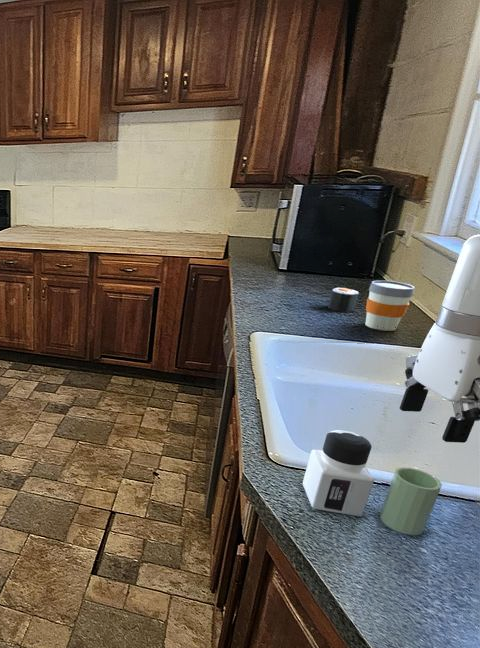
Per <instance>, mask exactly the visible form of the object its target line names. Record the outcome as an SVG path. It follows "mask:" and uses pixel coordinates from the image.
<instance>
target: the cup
mask: <svg viewBox="0 0 480 648" xmlns="http://www.w3.org/2000/svg"><path fill="white" fill-rule="evenodd" d="M442 486H443V485H442V482H441V481H440V479H438V478H437V477H436V476H435V475H432V474H430V473H428V472H426V471H423V470H420V469H417V468H413V467H399V468H396V470H395V471H394V473H393V476H392V479H391V482H390V484H389V488H388V490H387V493H386V496H385V499H384V502H383V505H382V507H381V510H380V514H379V518H380V521H381V522H382V523H383V524H384V525H385V526H387V527H388V528H389V529H392V530H393V531H395V532H398V533H400V534H403V535H407V536H419V535H422V534H424V532H425V531H424V530H425V529H426V526H427V524H428V522H429V519H430V516H431V514H432V511H433V509H434V506H435V504H436V501H437V499H438V496H439V493H440V491H441V488H442Z"/></svg>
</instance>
